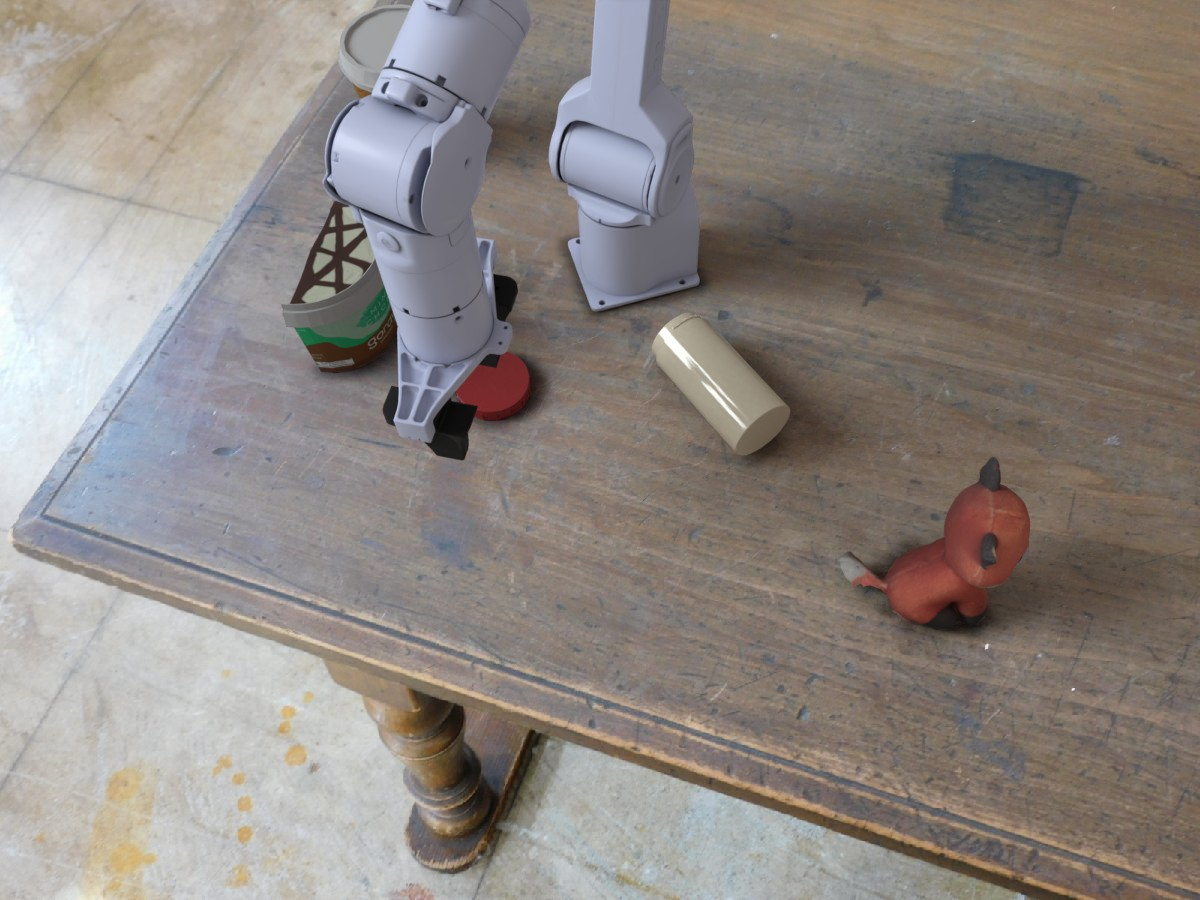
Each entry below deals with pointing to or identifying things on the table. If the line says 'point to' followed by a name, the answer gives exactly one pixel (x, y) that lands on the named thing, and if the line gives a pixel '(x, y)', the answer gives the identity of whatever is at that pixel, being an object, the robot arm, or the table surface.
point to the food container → (341, 298)
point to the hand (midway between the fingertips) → (468, 406)
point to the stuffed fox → (956, 558)
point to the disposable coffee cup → (369, 45)
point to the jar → (719, 383)
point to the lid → (497, 388)
